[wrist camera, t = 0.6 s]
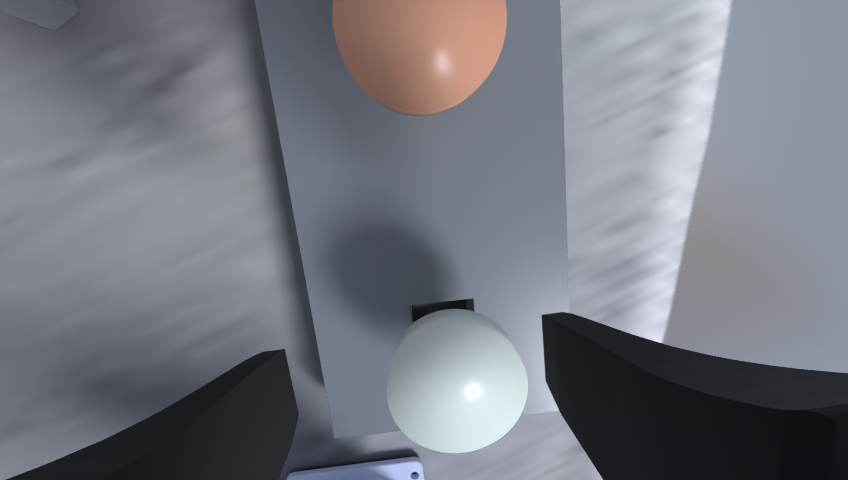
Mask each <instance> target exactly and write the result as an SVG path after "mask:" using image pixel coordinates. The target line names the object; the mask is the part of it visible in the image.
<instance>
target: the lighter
mask: <svg viewBox="0 0 848 480" xmlns="http://www.w3.org/2000/svg"><path fill="white" fill-rule="evenodd" d="M0 12H2V13H5V14H8V15H11V16H14V17H17V18H19V19H22V20H25V21H28V22H31V23H34V24H36V25H39V26H42V27H45V28H48V29H51V30H55V31H56V30H57V29H58V28H60V27H61V26H62V25H64V24H65V23H66V22H67V21H69V20H70V19H71V18H73V17H74V16H75V15H77V14H78V13H79V6H78V5H77V3H76V2H75V1H74V0H0Z"/></svg>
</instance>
